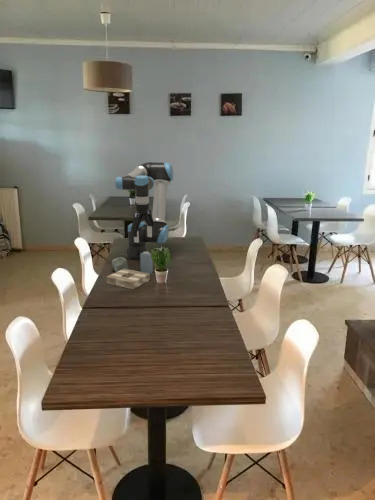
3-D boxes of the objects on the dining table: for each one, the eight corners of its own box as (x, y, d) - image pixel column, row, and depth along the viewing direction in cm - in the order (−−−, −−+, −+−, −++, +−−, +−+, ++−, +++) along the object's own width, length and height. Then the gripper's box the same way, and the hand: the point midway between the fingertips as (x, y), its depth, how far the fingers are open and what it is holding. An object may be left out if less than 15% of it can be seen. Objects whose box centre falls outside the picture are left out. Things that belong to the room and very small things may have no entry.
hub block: (124, 275, 246) (124, 268, 245) (149, 280, 237) (149, 273, 236) (106, 283, 232) (106, 276, 231) (133, 289, 224) (132, 282, 223)
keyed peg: (144, 271, 253) (144, 250, 249) (152, 272, 250) (152, 252, 247) (140, 272, 250) (140, 252, 246) (149, 274, 247) (148, 253, 243)
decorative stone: (127, 274, 246) (132, 259, 249) (109, 269, 243) (114, 253, 247) (124, 278, 258) (128, 263, 261) (107, 273, 255) (111, 258, 259)
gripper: (148, 199, 249) (149, 234, 255) (123, 206, 228) (125, 243, 234) (159, 200, 246) (160, 235, 252) (135, 207, 225) (136, 245, 231)
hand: (143, 239), depth 243 cm, fingers open, 13 cm apart
